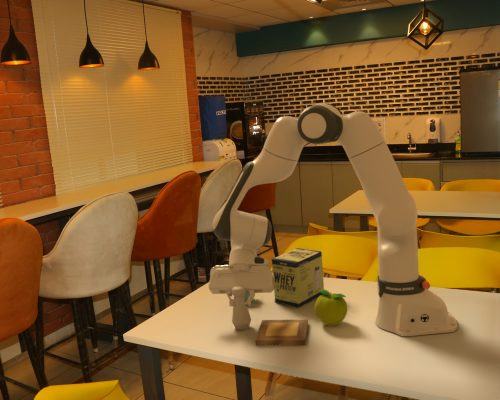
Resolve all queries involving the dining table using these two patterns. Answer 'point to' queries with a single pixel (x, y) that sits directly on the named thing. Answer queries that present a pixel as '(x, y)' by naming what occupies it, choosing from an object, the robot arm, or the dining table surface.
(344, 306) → the fruit
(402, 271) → the robot arm
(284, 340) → the base board
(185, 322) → the dining table surface
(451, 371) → the dining table surface
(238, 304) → the salt shaker
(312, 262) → the protein box
